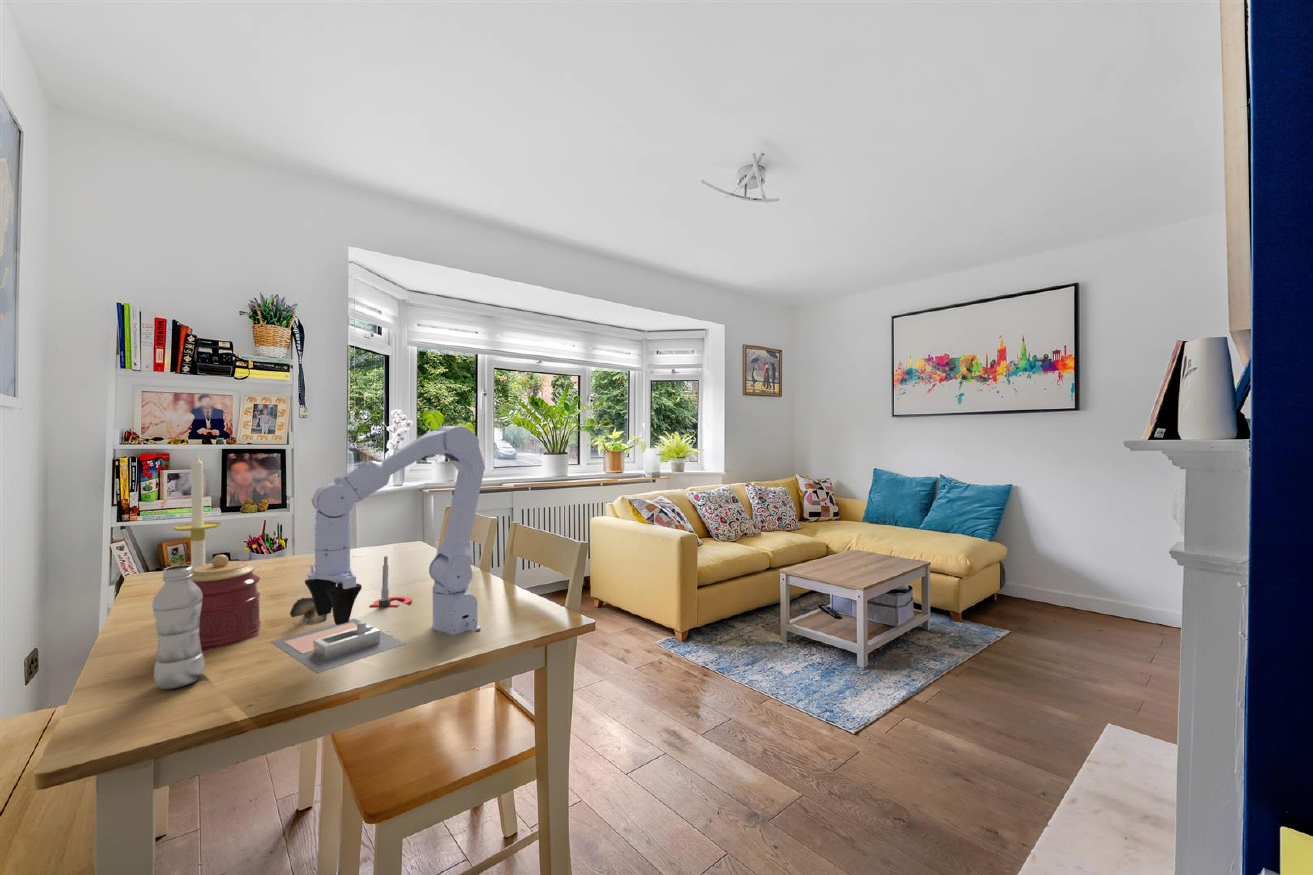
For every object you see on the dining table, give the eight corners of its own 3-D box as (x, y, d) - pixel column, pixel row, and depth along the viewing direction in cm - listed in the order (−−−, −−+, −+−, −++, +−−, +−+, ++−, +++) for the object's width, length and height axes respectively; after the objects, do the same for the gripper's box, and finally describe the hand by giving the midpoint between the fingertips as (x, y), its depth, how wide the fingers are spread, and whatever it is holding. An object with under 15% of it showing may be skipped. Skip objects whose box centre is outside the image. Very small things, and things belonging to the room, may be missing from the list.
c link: (379, 642, 107) (379, 630, 107) (324, 660, 99) (324, 646, 99) (367, 636, 110) (367, 624, 110) (313, 652, 102) (313, 639, 102)
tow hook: (383, 600, 136) (364, 611, 127) (384, 549, 136) (366, 556, 127) (417, 601, 136) (400, 612, 127) (418, 549, 137) (402, 557, 127)
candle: (159, 616, 122) (156, 452, 121) (208, 602, 132) (206, 450, 131) (188, 622, 119) (186, 453, 118) (236, 607, 129) (234, 451, 128)
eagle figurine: (285, 616, 120) (279, 622, 112) (306, 586, 123) (302, 590, 115) (318, 631, 123) (315, 637, 115) (338, 601, 125) (336, 606, 117)
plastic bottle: (215, 674, 95) (213, 562, 94) (182, 694, 88) (180, 573, 88) (177, 675, 95) (175, 562, 94) (142, 694, 88) (139, 573, 87)
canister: (272, 636, 112) (272, 552, 111) (195, 660, 101) (193, 566, 100) (243, 624, 118) (242, 544, 118) (167, 644, 107) (165, 557, 107)
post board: (406, 648, 107) (406, 623, 107) (317, 678, 94) (317, 650, 94) (354, 622, 120) (354, 600, 120) (270, 646, 107) (269, 621, 107)
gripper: (293, 545, 103) (293, 615, 103) (326, 557, 94) (326, 634, 95) (333, 539, 109) (333, 606, 109) (367, 550, 100) (367, 622, 100)
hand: (332, 618), depth 102 cm, fingers open, 7 cm apart
